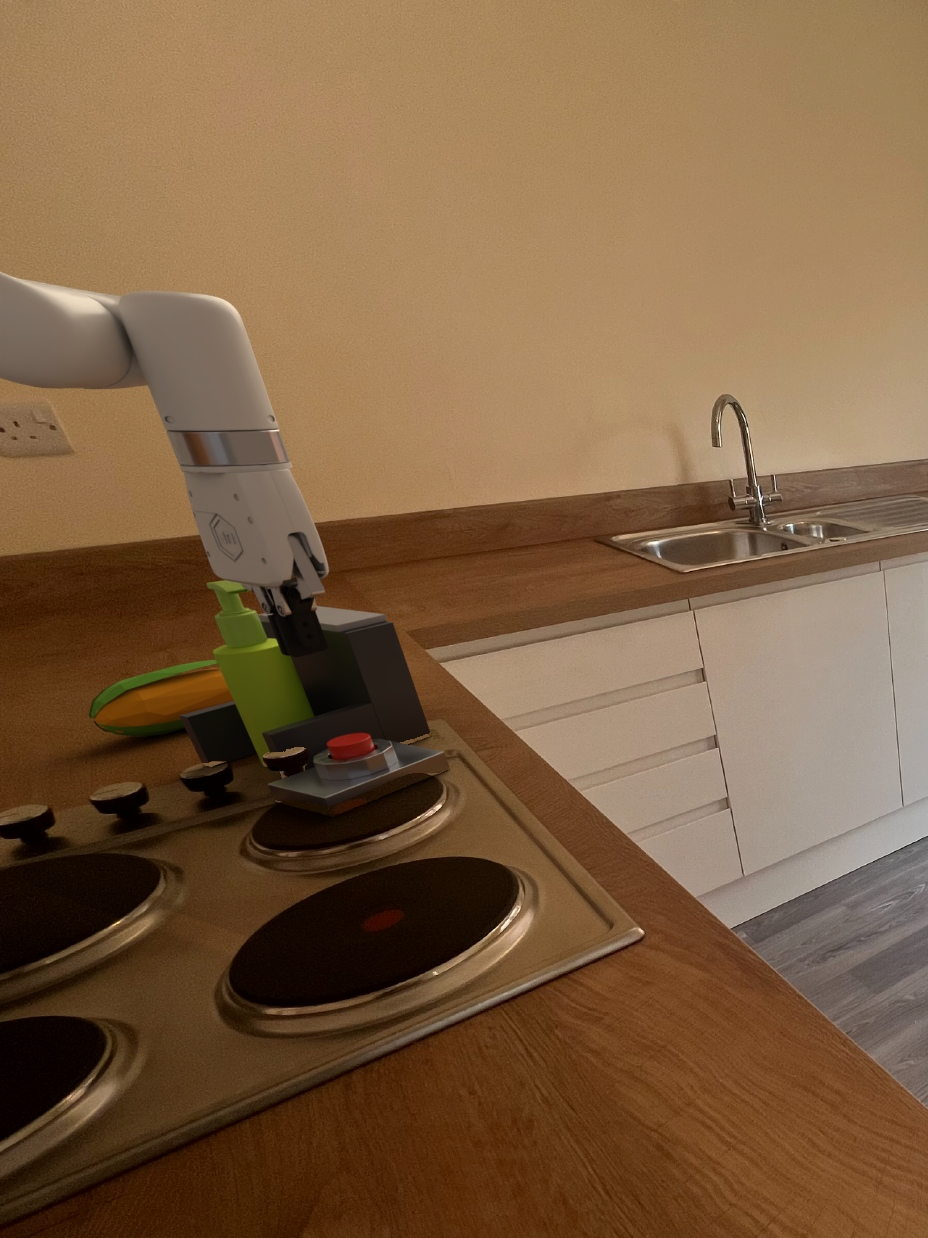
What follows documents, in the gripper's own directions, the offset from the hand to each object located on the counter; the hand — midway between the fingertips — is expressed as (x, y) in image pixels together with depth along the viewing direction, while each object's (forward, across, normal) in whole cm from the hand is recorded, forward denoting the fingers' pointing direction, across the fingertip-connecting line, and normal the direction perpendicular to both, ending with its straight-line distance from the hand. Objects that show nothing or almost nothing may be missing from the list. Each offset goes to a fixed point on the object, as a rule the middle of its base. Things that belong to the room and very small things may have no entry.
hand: (306, 652), depth 82 cm
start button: (+11, +1, 0) cm, 11 cm away
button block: (+14, +1, 0) cm, 15 cm away
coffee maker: (+15, -14, +5) cm, 21 cm away
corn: (+15, -39, +6) cm, 42 cm away
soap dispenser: (+15, -14, +2) cm, 21 cm away
